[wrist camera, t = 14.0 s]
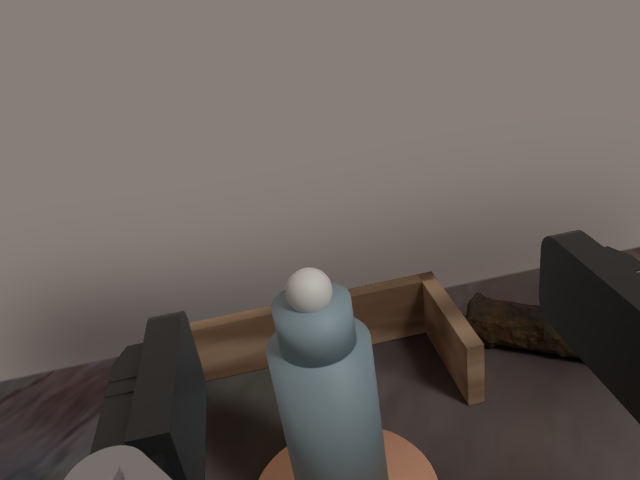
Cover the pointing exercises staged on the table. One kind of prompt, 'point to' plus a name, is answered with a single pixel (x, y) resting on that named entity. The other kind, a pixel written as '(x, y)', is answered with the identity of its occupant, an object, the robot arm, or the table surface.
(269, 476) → the trivet
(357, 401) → the pepper mill
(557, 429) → the table surface
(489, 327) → the brown piece
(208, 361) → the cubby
